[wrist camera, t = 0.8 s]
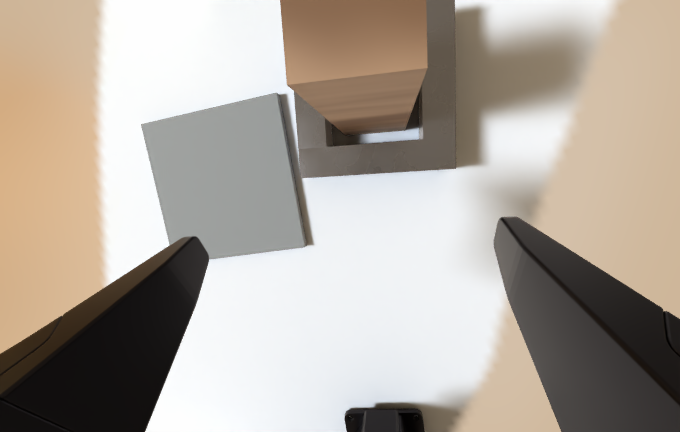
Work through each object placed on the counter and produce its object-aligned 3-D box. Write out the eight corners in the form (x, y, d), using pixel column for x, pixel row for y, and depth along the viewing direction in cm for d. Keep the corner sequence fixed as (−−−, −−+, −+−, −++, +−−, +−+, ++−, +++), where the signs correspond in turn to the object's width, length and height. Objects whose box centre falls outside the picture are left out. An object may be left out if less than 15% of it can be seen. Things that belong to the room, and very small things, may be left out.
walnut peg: (404, 130, 21) (427, 68, 9) (345, 135, 22) (286, 84, 9) (402, 66, 21) (424, -99, 8) (342, 74, 22) (274, -68, 9)
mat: (306, 245, 24) (304, 247, 23) (179, 261, 26) (174, 263, 26) (279, 94, 23) (276, 92, 22) (146, 125, 25) (141, 124, 24)
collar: (448, 169, 21) (455, 168, 19) (310, 177, 23) (300, 178, 21) (446, 14, 20) (454, -8, 17) (299, 36, 22) (288, 19, 19)
